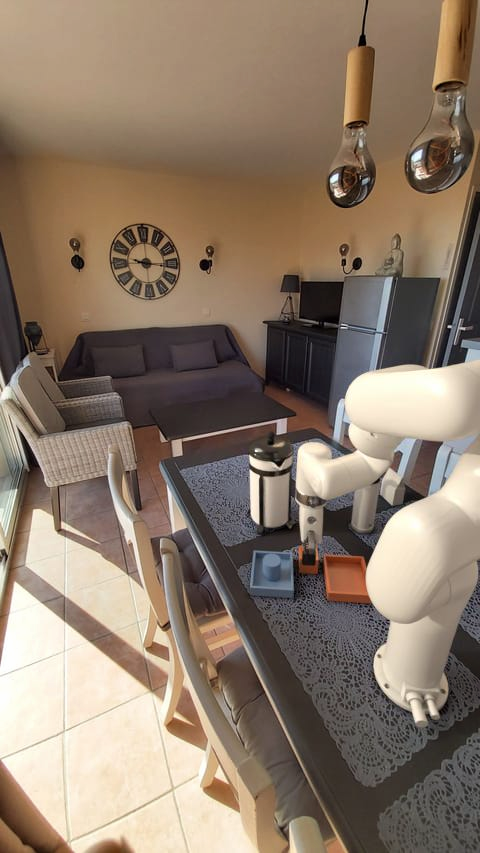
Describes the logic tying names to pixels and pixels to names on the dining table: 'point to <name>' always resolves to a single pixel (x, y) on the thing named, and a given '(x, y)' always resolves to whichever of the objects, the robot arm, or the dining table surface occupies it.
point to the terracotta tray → (345, 578)
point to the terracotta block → (307, 568)
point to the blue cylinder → (271, 567)
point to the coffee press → (270, 481)
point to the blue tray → (276, 588)
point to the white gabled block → (392, 488)
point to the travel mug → (365, 507)
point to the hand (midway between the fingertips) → (307, 549)
